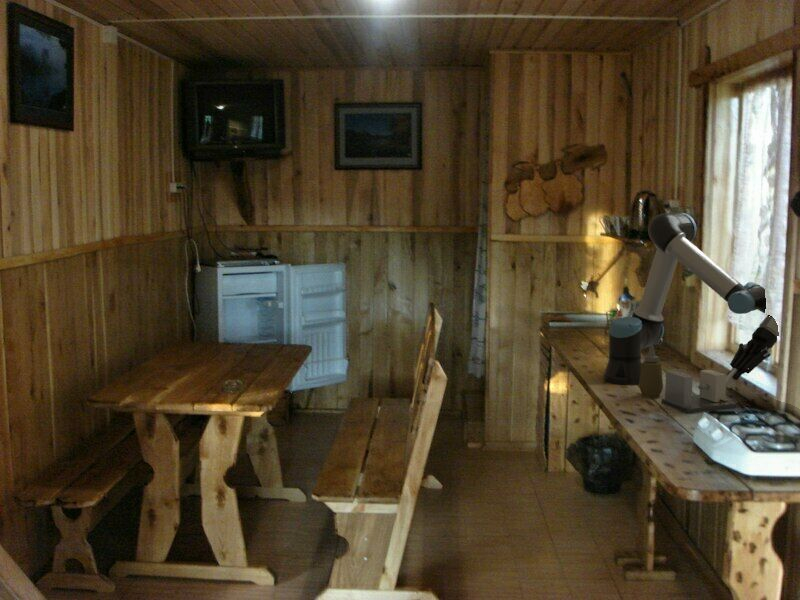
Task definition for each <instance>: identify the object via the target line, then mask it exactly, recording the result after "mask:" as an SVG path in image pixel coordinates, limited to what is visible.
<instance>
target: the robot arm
mask: <svg viewBox="0 0 800 600" xmlns="http://www.w3.org/2000/svg"><path fill="white" fill-rule="evenodd" d="M647 230H648V231H647V232H648V237H649V239H650V240H651V242H652V243H653V246H654V247H655V248H656V251H655V254H654V258H653V260H652V263H651V267H650V270H649V274H648V277H647V280H646V282H645V286H644V289H643V294H642V297H641V299H640V303H639V306H638V307H636V308H635V309H633V312H632V315H631V316H623V317H617V318H614V319H612V320H611V321H610V324H609V329H608V332H609V334H608V335H609V337H608V339H609V340H608V342H609V343H608V346H609V348H608V349H609V351H608V362H607V363H606V367H605V371H604V373H603V380H604V381H605V382H607V383H611V384H617V385H639V381H640V373H641V365H642V363H643V362H642V350H643V349H647V348H650V346H654V345H657V344H658V343H659V342H660V341H661V340H662V339H663V337H664V334H665V326H664V325H663V323H664V316H663V314H662V313H663V312H662V311H663V309H664V306H665V303H666V300H667V296H668V294H669V290H670V287H671V285H672V284H671V283H672V281H673V277H674V275H675V271H676V268H677V265H678V262H679V263H681V264H682V265H683V266H684V267H685V268H687V269H688V271H690V272H691V273H692V274H694V276H696V277H697V278H698V279H700V281H702V282H703V283H704V284H705V285H707V287H708V288H710V289H711V290H712V291H714V292H715V293H716V294H717V295H718V296H719V297H721V298H722V299H723V300H725V302H727V307H728V309H729V310H730V311H731V312H732V313H734V314H738V315H744V314H749V313H750V312H752V311H753V312H754V311H757V310H758V311H759V312H761V313H762V314H763V313H764V314H765V309H766V298H765V289H766V288H765V289H764V287H763V286H761V285H760V284H757V283H756V282H752V281H750V282H749V281H748V282H747V283H746V284H745V285H743V284H741V282H739V281H738V280H737V279H736V278H735V277H733V276H732V275H731V274H730V273H729V272H728V271H726V270H725V269H724V268H723V267H721V266H720V265H719V264H718V263H716V262H715V261H714V260H713V259H712V258H710V257H709V256H708V254H705V252H703V251H702V250H701V249H700V248H699V247H697V246H696V245H695V244H694V243H692V241H693V240H694V238H695V237H696V235H697V231H698V229H697V223H696V222H695V220H694V217H692V216H691V215H690V214H687V213H684V212H679V211H677V212H669V213H660V214H658V215H656V216H654V217H653V218H652V219H651V221H649V224H648V227H647ZM769 316H770V315H767V316H766V317H765V318H764V319H763V320H762V321H761V323H760V324H759V325H758V327H757V328H756V329H755V330H753V331H754V332H752V334H751V339H750V340H748V342H747V343H745V344H743V343H742V342H741V343H739V345H738V349H737V351H736V353H735V355H734V356H733V358H732V360H731V361H730V363H729V365H730V367H731V369H730V371H729V372H728V373H727V374H726V389H731V387H733V385H734V384H735V382H736V381H738V380H739V378H740V377H742V375H744V374H745V373H746V374H748V375H749V374H750V373H752V371H753V370H754V369H756V367H758V366H759V365H760V364H761V363H762V362H764V360H766V359H767V358H769V357H770V356H771V353H770V352H769V349H772V348H773V347H774V346H775V344H776V343H777V342H778V339H777V336H779V332H778V325H777V323H776V321H775V319H774V318H773V317H772V316H770V317H769Z"/></svg>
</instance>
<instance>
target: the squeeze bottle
mask: <svg viewBox="0 0 800 600" xmlns="http://www.w3.org/2000/svg"><path fill="white" fill-rule="evenodd" d="M648 348H649V349H648V353H647V354H646V355H645V356H644V361H642V362H641V363H642V365H641V373H640V381H639V384H638V388H639V391H640V394H641V397H643V398H647V399H657V398H660V396H661V393H662V390H663V388H664V384H663V371H662V369H663V368H662V363H661V362H660V361H659V359H660V358H659V356H658V355H656V352H655V346H654V345H653V346H650V347H648Z"/></svg>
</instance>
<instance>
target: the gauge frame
mask: <svg viewBox="0 0 800 600" xmlns="http://www.w3.org/2000/svg"><path fill="white" fill-rule="evenodd" d="M664 388H665V389H664V398H661V401H660V402H661V403H660V404H661V405H662V404H663V405H664V406H667V407H671V408H672V409H675V410H677V411H680V412H681V413H683V414H684V413H685V414H687V415H689V414H696V413H704V412H713V411H723V410H730V409H737V403H736V402H732V401H730V400H727V399H725V401H726V403H723V402H713V401H710V400H708V399H705V398H702V397H700V394H693V376H691V375H688V374H685V373H682V372H680V371H676V370H665V387H664Z"/></svg>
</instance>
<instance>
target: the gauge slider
mask: <svg viewBox="0 0 800 600" xmlns="http://www.w3.org/2000/svg"><path fill="white" fill-rule="evenodd" d="M699 373H700V376H699V385H698V389H699V395H700V397H702V398H705V399H708V400H710V401H713V402H723V403H726V401H725V400H726V398H727V397H726V394H727V388H726V377H727V374H726V373H723V372H719V371H716V370H713V369H704V370H703V369H702V370H700V372H699Z"/></svg>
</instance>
